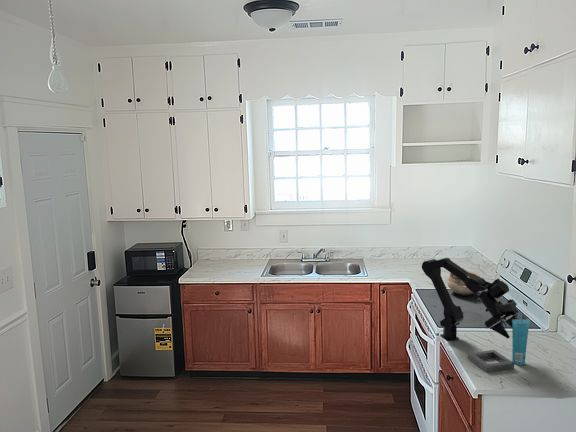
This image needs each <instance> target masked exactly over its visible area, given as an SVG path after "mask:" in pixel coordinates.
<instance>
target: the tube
mask: <svg viewBox="0 0 576 432" xmlns="http://www.w3.org/2000/svg"><path fill="white" fill-rule="evenodd" d="M530 323H531V319H530V318H529V319H517V320H512V327H511V328H512V336H511V337H512V341H511V342H512V344H511V345H512V349H511V351H512V353H511V355H512V357H511V361H512V362H513V363H514V365H519V366H523V365H525V363H526V354H527V345H528V336H529V329H530Z"/></svg>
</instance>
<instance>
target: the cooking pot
mask: <svg viewBox="0 0 576 432" xmlns="http://www.w3.org/2000/svg"><path fill="white" fill-rule="evenodd" d="M466 271H467V272H468V273H470V274H473V275H477V276H479V277H481V276H480V274H478V273H476V272H474V271H470V270H466ZM448 274H449V276H448V278H447V280H446V281H447V282H446V283H447V286H448V289H450V290H451V291H452V292H454V293H455V294H457V295H458V296H462V297H467V296H470V295H472V294H474V293H473V292H471V291H470V290H469V289H468V288H467V287H466V285H465V283H464V282H463V281H462V280H460V279H459V278H457V277H456V276H455V275H453V274H452V273H450V272H449V271H448Z"/></svg>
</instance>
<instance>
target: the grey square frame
mask: <svg viewBox="0 0 576 432" xmlns="http://www.w3.org/2000/svg"><path fill="white" fill-rule="evenodd" d="M492 358H493V359H494V360H495V361H497V362H493V363H487V362H486V361H484V360H485V359H492ZM467 359H468V360H469V361H470V362H471V363H472V364H474V365H475V364H476V365H475V366H477V367H478V368H480V369H481V370H482V371H483V370H484V372H485V373H486V372H487V373H493V372H501V371H507V370H508V371H509V370H514V369H515V364H514V363H513V362H512V360H510V359H509V358H507V357H505V356H504V355H503V354H502V353H500V352H499V351H497V350H495V349H490V350H482V351H474V352H468V353H467Z"/></svg>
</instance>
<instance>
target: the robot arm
mask: <svg viewBox="0 0 576 432" xmlns="http://www.w3.org/2000/svg"><path fill="white" fill-rule="evenodd" d="M441 268H443V269H445V270H446V271H448V273H449V272H450V273H452V274H453V275H455V276H456V277H457V278H459V279H460V280H462V281H463V282H464V283H465V285H466V287H467V288H468V289H469V290H470V291H471V292H473V294H475V293H476V294H475V297H474V301H478V300H479V301H480V302H481V303H482V304H483V306H484V307H485V310H484V311H485V312H486V313H489V314H490V315H491V316H492V317H490V318H489V319H487V320H486V321H484V326H485V327H486V328H487V329H490V330H492V331H493V332H495V333H498V334H499V335H501V336H502V337H505V339H510V337H511V336H510V335H509V333H508V332H507V329H506V328H505V326H504V320H505V323H506V324H507V325H509V327H511V328H512V320H518V319H517V318H518V315H519V314H518V313H519V310H518V309H517V302H516V301H515V300H514V299H512V298H510V299H508V300H507V302H506V303H503V302H502V301H498V300H497V299H500V298H502V297H503V296H504V295H505V294H507V293H508V292H510V288H509V285H508V284H507V283H505V281H503V280H501V279H500V278H496V279H494V281H493V282H489V281H487V280H486V279H485V278H483V277H481V276H480V277H479V276H477V275H473V274H470V273H468V272H467V271H468V270H465V269H464V268H463V267H461V266H460V265H458V264H457V263H455V262H453V261H452V260H451V259H450V258H449V257H444V258H440V259H435V258H432V259H428V260H425V261H423V262H422V263H421V270H422V271H423V273H424V274H425V276H427V277H428V278H429V280H431V282H432V284H433V287H434V289H435V292H436V293H437V296H438V298H439V301H440V302H441V304H442V307H443V317H444V318H443V319H441V320H439V323H440V326H441V327H442V328H443V330H442V334H441V333H440V335H439V336H440V337H442V339H444V340H446V341H447V342H448V341H455V340H460V337H458V336H457V335H458V333H457V332H458V331H457V329H458V328H457V326H458V325H460V324H461V323H462V322H463V320H464V317H465V316H464V312H463V310H462V307H461V305H456V304H455V303H454V302H453V299H452V297H451V294H450V292H449V291H448V288H447V286H446V283H445V282H444V279H443V278H442V276H441V275H442V274H441V273H442V269H441ZM479 292H480V293H479Z"/></svg>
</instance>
